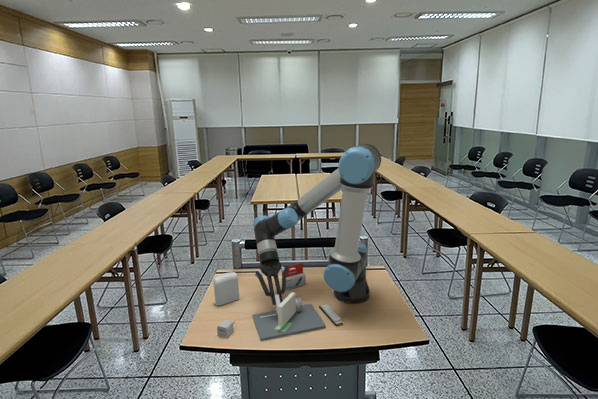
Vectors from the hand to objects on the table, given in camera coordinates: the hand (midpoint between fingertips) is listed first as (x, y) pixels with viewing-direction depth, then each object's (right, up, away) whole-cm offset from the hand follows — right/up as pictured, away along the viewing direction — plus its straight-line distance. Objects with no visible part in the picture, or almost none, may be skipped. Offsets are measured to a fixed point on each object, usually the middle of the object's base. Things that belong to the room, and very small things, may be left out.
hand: (279, 313), depth 137 cm
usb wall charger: (-19, -6, -2) cm, 20 cm away
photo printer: (-23, -1, +19) cm, 29 cm away
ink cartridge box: (+5, +3, +30) cm, 30 cm away
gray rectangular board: (+3, -4, +3) cm, 6 cm away
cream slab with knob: (+4, -3, +3) cm, 5 cm away
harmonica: (+19, -4, +7) cm, 21 cm away
